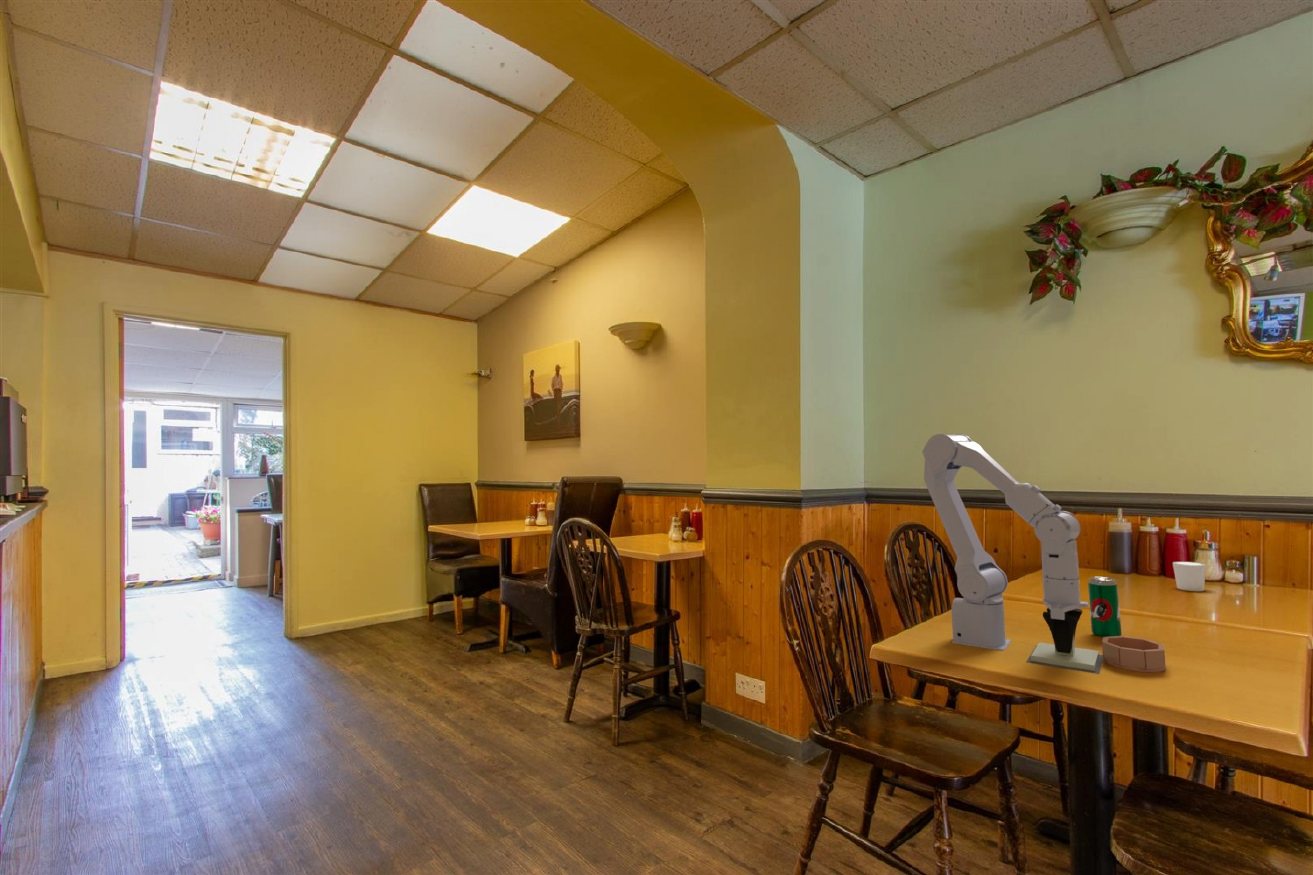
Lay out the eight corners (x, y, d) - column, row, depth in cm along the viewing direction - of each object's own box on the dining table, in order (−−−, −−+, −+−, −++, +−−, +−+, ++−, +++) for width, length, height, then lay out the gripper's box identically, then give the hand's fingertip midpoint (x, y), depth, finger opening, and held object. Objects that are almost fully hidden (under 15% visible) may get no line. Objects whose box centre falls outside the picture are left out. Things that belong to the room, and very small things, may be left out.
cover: (1031, 660, 113) (1029, 633, 113) (1039, 647, 120) (1037, 622, 120) (1094, 670, 107) (1093, 642, 107) (1099, 656, 114) (1097, 629, 114)
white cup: (1185, 591, 163) (1183, 565, 163) (1168, 586, 170) (1166, 561, 170) (1214, 591, 162) (1212, 565, 162) (1195, 586, 169) (1194, 561, 169)
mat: (1026, 664, 112) (1025, 661, 112) (1036, 647, 121) (1036, 645, 121) (1099, 676, 105) (1099, 673, 105) (1104, 657, 114) (1104, 655, 114)
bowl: (1102, 667, 109) (1100, 645, 109) (1105, 654, 116) (1104, 633, 116) (1165, 677, 103) (1164, 654, 103) (1165, 663, 110) (1164, 641, 110)
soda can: (1126, 639, 124) (1122, 580, 125) (1098, 639, 125) (1094, 580, 126) (1114, 633, 129) (1109, 576, 129) (1087, 632, 130) (1082, 576, 131)
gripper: (1082, 586, 106) (1087, 664, 105) (1090, 572, 117) (1094, 643, 116) (1035, 581, 110) (1039, 657, 110) (1047, 569, 121) (1050, 637, 121)
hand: (1064, 649), depth 113 cm, fingers closed on cover, 3 cm apart
